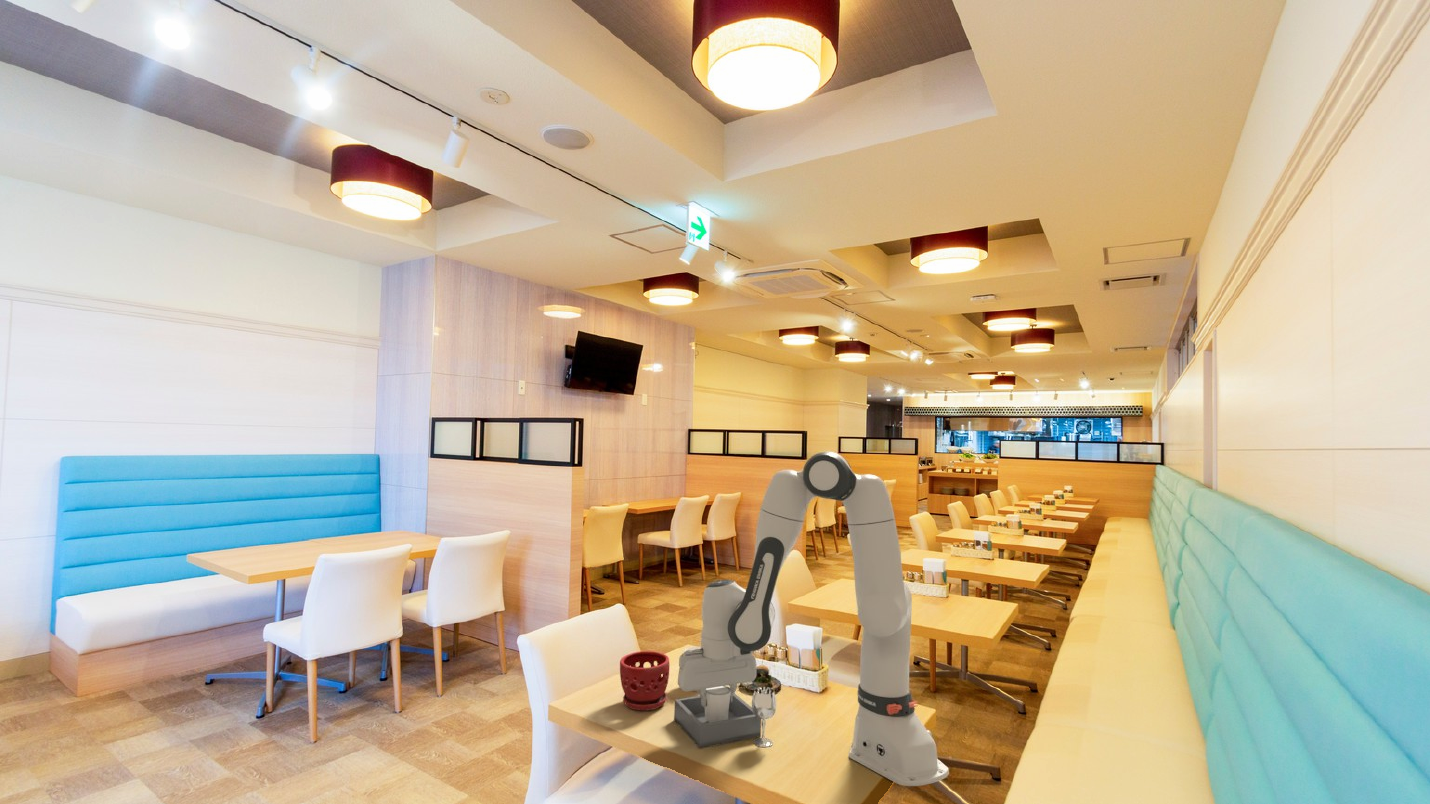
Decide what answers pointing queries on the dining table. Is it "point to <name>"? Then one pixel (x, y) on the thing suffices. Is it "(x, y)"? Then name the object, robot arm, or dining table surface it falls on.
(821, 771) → the dining table surface
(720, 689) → the small tapered cup
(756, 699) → the wineglass
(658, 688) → the plant pot
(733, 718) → the bin
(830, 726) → the dining table surface
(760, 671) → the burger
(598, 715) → the dining table surface
